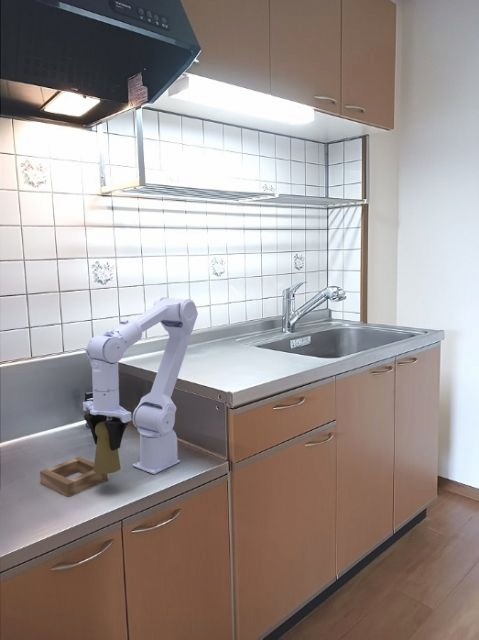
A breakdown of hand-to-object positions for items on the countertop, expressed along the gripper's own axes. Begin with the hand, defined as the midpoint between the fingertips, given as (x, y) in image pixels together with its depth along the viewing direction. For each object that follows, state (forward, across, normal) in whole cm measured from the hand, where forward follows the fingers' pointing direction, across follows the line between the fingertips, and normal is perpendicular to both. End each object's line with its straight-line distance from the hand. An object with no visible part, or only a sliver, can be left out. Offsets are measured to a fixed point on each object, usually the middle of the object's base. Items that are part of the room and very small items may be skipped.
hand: (107, 446), depth 114 cm
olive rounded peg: (+5, 0, -1) cm, 5 cm away
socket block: (+10, -10, -2) cm, 14 cm away
